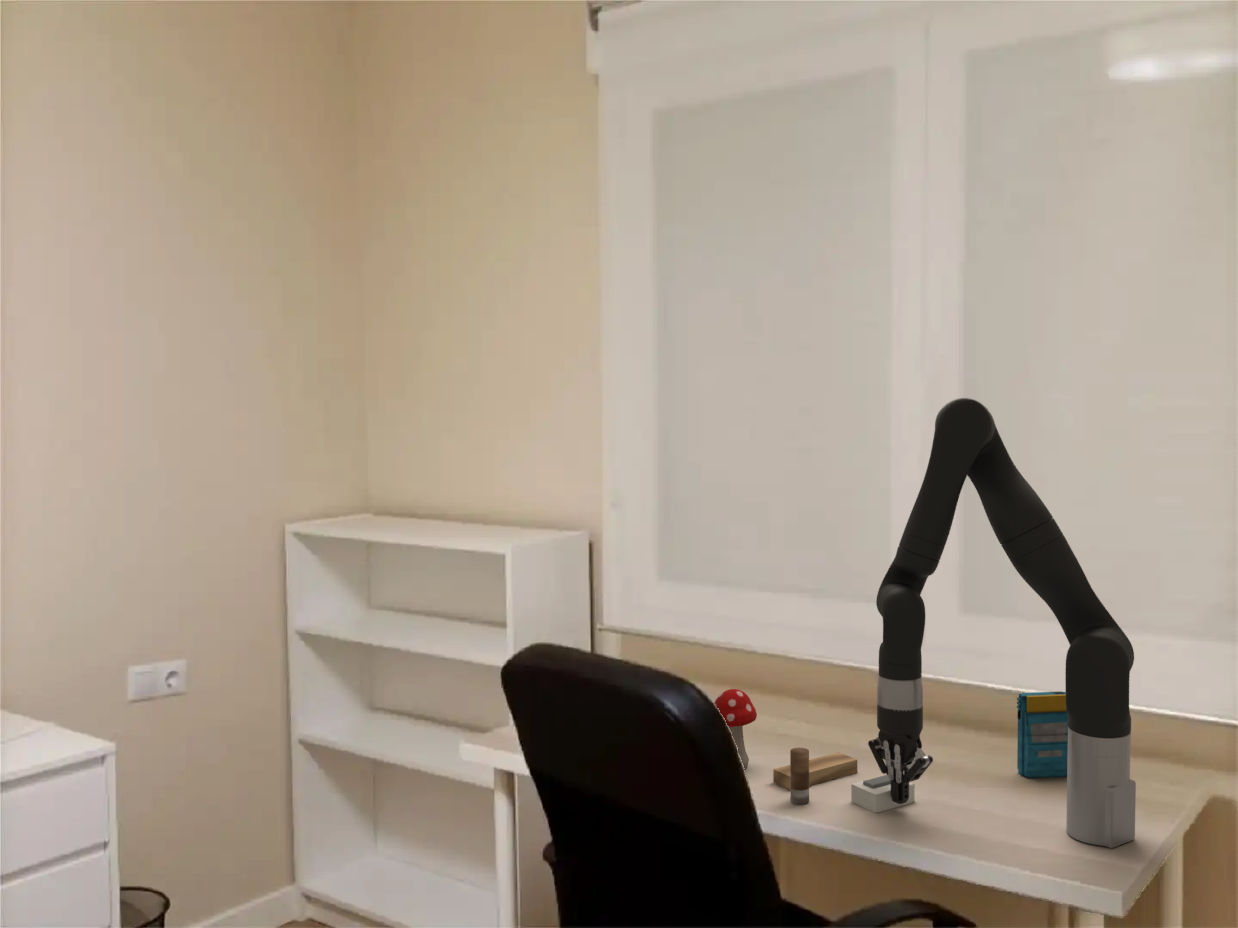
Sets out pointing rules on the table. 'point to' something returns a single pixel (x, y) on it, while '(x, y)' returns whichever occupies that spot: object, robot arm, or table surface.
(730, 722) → the decorative mushroom
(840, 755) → the batten
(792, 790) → the brown cylinder
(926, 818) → the table surface
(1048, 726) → the handheld gaming console
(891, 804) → the block
